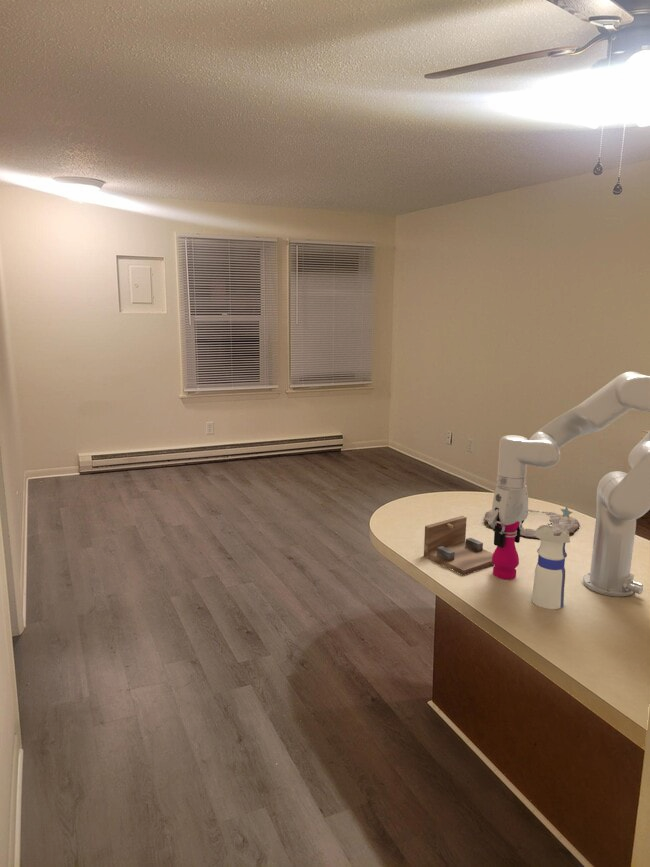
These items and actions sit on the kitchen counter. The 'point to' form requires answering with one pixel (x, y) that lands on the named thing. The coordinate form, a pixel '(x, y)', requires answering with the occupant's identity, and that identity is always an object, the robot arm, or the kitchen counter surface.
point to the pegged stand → (455, 546)
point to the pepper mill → (506, 554)
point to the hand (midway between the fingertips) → (506, 543)
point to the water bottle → (550, 567)
